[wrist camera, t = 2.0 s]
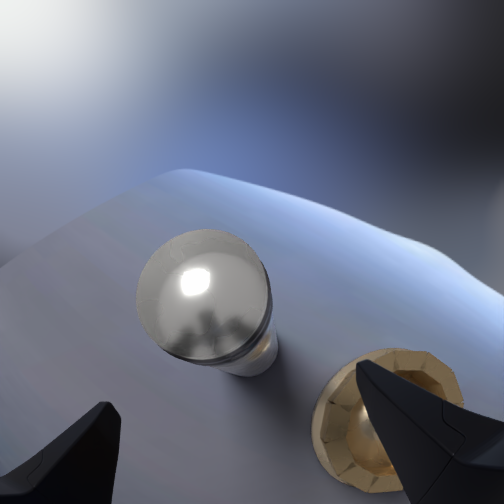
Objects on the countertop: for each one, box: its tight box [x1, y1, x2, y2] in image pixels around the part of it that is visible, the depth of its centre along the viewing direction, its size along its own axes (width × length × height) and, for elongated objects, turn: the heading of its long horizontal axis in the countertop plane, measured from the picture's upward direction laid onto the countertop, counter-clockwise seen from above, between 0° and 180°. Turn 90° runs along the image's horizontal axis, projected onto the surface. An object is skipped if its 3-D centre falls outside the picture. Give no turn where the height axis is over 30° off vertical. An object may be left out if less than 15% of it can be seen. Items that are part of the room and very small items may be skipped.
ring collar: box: [311, 348, 464, 493], centre depth 14 cm, size 10×10×4 cm
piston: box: [136, 229, 278, 377], centre depth 14 cm, size 5×5×12 cm
